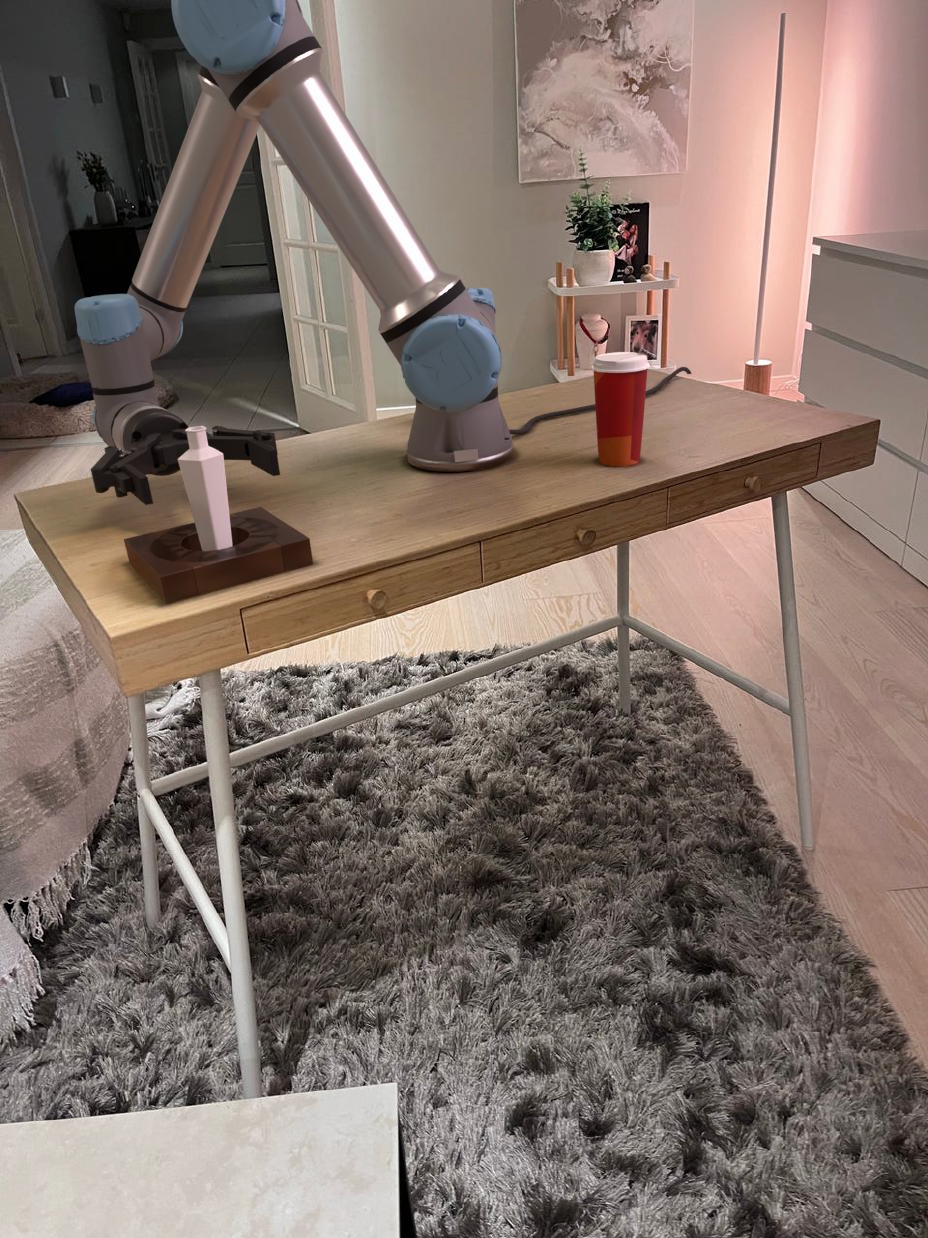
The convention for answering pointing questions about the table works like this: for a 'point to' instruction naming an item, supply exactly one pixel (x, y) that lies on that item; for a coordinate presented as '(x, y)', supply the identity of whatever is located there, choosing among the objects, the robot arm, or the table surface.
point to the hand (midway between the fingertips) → (213, 476)
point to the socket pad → (217, 555)
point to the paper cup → (620, 406)
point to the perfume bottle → (206, 490)
